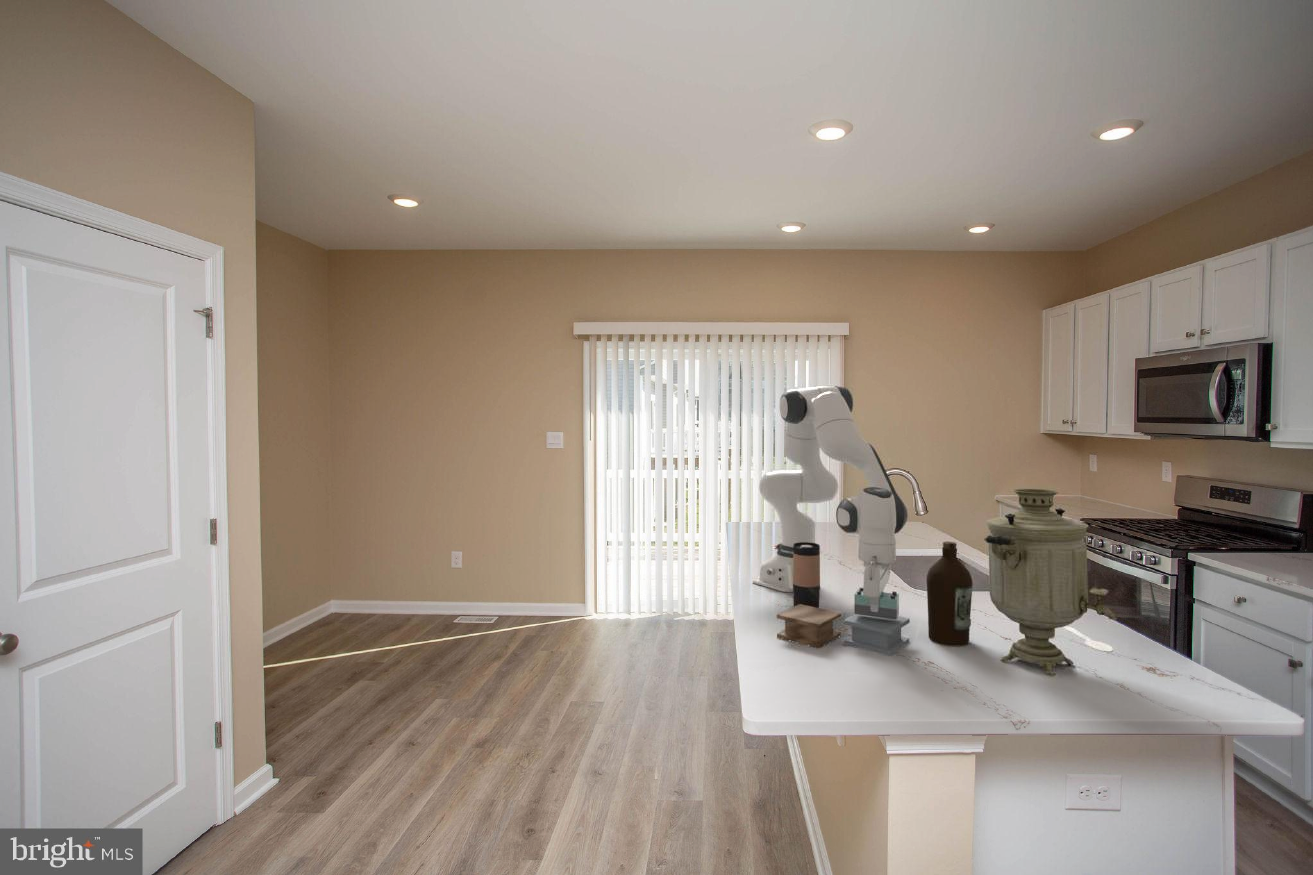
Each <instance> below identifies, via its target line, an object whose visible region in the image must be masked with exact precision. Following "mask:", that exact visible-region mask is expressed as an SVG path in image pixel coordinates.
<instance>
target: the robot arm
mask: <svg viewBox="0 0 1313 875" xmlns="http://www.w3.org/2000/svg"><path fill="white" fill-rule="evenodd" d="M853 407H854V399H853V395H852V393H851V391H850V390H849V389H848V388H847V387H844V386H838V385H834V386H823V385H822V386H821V385H820V386H818V385H817V386H816V385H815V386H812V387H811V386H810V387H804V388H798V389H796V388H793V389H792V388H791V389H789V390H786V391H784V392H783V393H782V394H781V396H780V399H779V413H780V416H781V418H782V419H783V421H784V422H785V423H786V424H785V435H784V450H783V451H784V452H783V453H784V454H785V457H786V458H787V460H789V461H790V462H792V463H793V464H796V465H798V466H800V469H797V470H796V469H795V470H791V469H790V470H789V469H788V470H786V469H785V470H783V469H781V470H775V471H773V470H772V471H769V472H765V473H764V474H763V475H762V477H760V478H761V479H760V481H759V486H758V488H759V493H760V495H761V497H762V499H764V500H765V501H766V502H767V503H768V504H770V505H771V506H772V508H773V509H774V510H775V511H776V514H777V515H778V518H779V521H780V530H781V531H780V532H781V535H780V536H781V542H780V543H777V545H776V544H775V545H774V550H777V551H776V553H775V554H774V555H773V556H771V557H769V558H768V559H767V560H766V561H764V562H763V563H762V564H761V566H760V568H759V569H760V571H759V575H758V576H754V578H753V580H752V583H753V584H755V585H760V586H762V587H766V588H770V589H772V590H776V591H780V592H783V593H791V592H792V593H793V545H794V544H795V543H799V542H809V543H816V523H815V521H814V519H813V518H812V517H811V516H809V515H807V514H806V513H804V512H802V511H799V509H798V504H820V503H826V502H830V501H833V500H834V499H835V497H836V496H837V494H838V491H839V483H838V480H837V478H836V476H835V474H833V473H832V472H831V471H829V469H827V468H826V467H825V465H824V464H823V461H822V460H821V453H820V452H821V451H822V453H823V454H824V455H826V456H827V457H829V458H831V459H832V460H835V461H839V462H842V463H845V464H848V465H851V466H853V467H854V468H856V469H858V470H860V471H861V472H862V473H863V475H864V476H865V478H866V480H867V483H868V485H869V487H865V488H863V489H861V491H860V493H858V494H857V495H854V496H851V497H847V498H843V499H842V500H840V502H839V504H837V508H836V513H835V516H836V517H835V519H836V523H837V525H838V527H839V528H840V529H841V530H842V531H843V532H844V533H847V534H852V535H853V534H854V535H857V534H858V535H859V537H858V559H859V560H860V561H862V562H863V566H864V570H863V572H864V573H863V587H862V588H863V595H864V598H868V599H870V604H871V611H872V612H878V610H879V598H880V596H881V594H882V592H884V590H885V588H886V587H887V584H888V582H889V580H890V577H891V576H890V575H891V566H892V563H895V562H896V561H897V560H896V558H897V553H896V552H897V539H896V537H895V534H898V533H899V532H901V530H903V528H904V527H905V525H906V524H907V522H908V517H909V516H908V509H907V507H906V505H905V503H904V501H903V500H902V499H901V496H899V495H898V493H897V491H896V489H895V487H894V485H893V483H892V481H891V479H890V477H889V475H888V473H887V471H886V468H885V467H884V464H883V462H882V460H881V458H880V456H879V455H878V453H877V451H876V449H875V448H874V446H873V445H871V444H870V443H869V442H868V441H866V440H865V439H864V437H863V436H862V435H861V433H860V432H859V430H858V429H857V426H856V423H855V420H854V416H853V414H852V412H853Z"/></svg>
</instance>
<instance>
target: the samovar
mask: <svg viewBox="0 0 1313 875" xmlns="http://www.w3.org/2000/svg"><path fill="white" fill-rule="evenodd" d="M1013 492H1014V493H1015V494H1017V495H1018V496H1017V497H1018V504H1019V505H1020V506H1021V510H1016V511H1014V512H1012V513H1008V514H1005V515H1004V516H998V517H995V518H992V519H988V520H987V521H986V522H987V523H986V524H987V527H988V530H989V533H990V535H989V534H988V535H987V536H986V537H985V538H984V541H985V542H986V543H987V544H988V545H987V546H988V578H989V582H988V583H989V584H988V585H989V597H990V600H991V602H992V604H993V605H994V607H995V608H996V609H997V611H999V612H1000V613H1002V614H1003V615H1004V616H1006V618H1008V619H1009V620H1010V621H1012V622H1014V623H1017V624H1018V625H1019V626H1018V629H1019V630H1018V631H1019V633H1020V634H1022V635H1024V638H1021V639H1018V640H1017V641H1015V642H1013V643H1012V644H1011V647H1010V650H1009V653H1008V654H1006V655H1005V656H1003V657H1001V658H1000V662H1001V663H1008V662H1010V661H1012V660H1014V659H1019V660H1021V661H1022V662H1028V663H1030V664H1037V665H1039V666H1041V667H1042V668H1043V669H1044V670H1045V675H1047V676H1049V677H1057V676H1058V674H1057V673H1056V671H1055V670H1054V669H1055V667H1056V665H1057V664H1058V665H1062V663H1064V662H1065V663H1068V664H1070V666H1071V667H1072V666H1073V665H1074V661H1072V660H1071V659H1069V658H1067V657H1066V655H1065V654H1064V652H1063V651H1062V649H1060V648H1058V647H1057V646H1056V644H1054V643H1052V642H1051V641H1050V639H1052V638H1055V636H1056V629H1058V628H1063V627H1064V626H1069V625H1071V624H1073V623H1074V622H1076V621H1077V620H1080V619H1081V618H1082V617H1083V616H1084V614H1086V613H1087V612H1088V609H1089V610H1092V611H1096V614H1097V615H1099V616H1104V615H1105V616H1107V618H1108V620H1112V621H1113V620H1114V621H1115V620H1117V617H1116V616H1115V614H1114V613H1113V611H1111V610H1110V609H1109V608H1108V607H1107V606H1105V604H1104V603H1103V600H1102V596H1106V595H1107V593H1109V590H1108V589H1105V588H1102V587H1096V586H1095V587H1091V588H1090V589H1088V587H1089V586H1088V583H1089V582H1088V554H1087V553H1088V552H1087V548H1088V547H1087V544H1086V542H1085V541H1084V539H1085V535H1086V534H1087V529H1088V528H1089V524H1087V523H1085V522H1082V521H1080V520H1075V519H1070V518H1066V517H1063V514H1064V513H1065V512H1066V510H1064V509H1063V508H1055V509H1054V510H1055V511H1051V508H1052V507H1053V506H1054V496H1055V495H1057V494H1058V493H1059V491H1058V490H1054V489H1041V488H1017V489H1013ZM1089 593H1090V594H1093V595H1096V597H1097V600H1096V604H1091V603H1089Z"/></svg>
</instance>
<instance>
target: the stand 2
mask: <svg viewBox="0 0 1313 875" xmlns="http://www.w3.org/2000/svg"><path fill="white" fill-rule="evenodd" d="M908 624H910V618H909V617H904V616H899V615H898V617H897V620H895V619H888V618H881V617H873V616H866V615H859V614H852V615H850V616H849V617H847V618H845V619H844V620H843V625H845V626H851V634H850V635H849V636H847V637H846V638H844V639H843V645H846V644H847V645H846V646H850V645H851V646H852V647H855V648H859V649H863V650H867V651H870V652H875V653H878V654H882V655H886V656H891V657H892V656H893V655H894V654H896V653H897V652H898V651H900V650H901V649H902V648H903V647H905V646H906V645H907V644H909V643H910V637H906V636H902V629H903V627H905V626H907V625H908ZM851 646H850V647H851Z"/></svg>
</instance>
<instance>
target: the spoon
mask: <svg viewBox="0 0 1313 875" xmlns="http://www.w3.org/2000/svg"><path fill="white" fill-rule="evenodd" d="M1062 629H1064V630H1066V631H1068V632H1070V633H1072V634H1073V635H1075V636H1077V637H1079V638H1081V639H1083V640H1085V641H1083V644H1084V645H1085V646H1087V647H1089V648H1092V649H1093V650H1095V651H1096V650H1097V651H1100V652H1101V651H1102V652H1106V653H1110V652H1113V651H1114V648H1113V647H1112V646H1111V645H1109V644H1107V643H1104V642H1102V641H1097V640H1093V639H1091V638H1090V637H1088V636H1086V635H1085V634H1083V633H1082V632H1080V631H1079V630H1077V629H1075V628H1074V627H1071V626H1069V625H1066V626H1064V627H1062Z"/></svg>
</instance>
